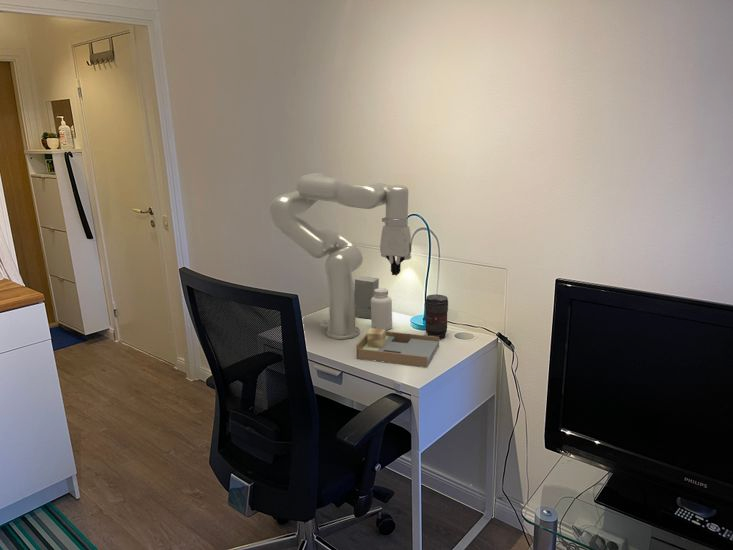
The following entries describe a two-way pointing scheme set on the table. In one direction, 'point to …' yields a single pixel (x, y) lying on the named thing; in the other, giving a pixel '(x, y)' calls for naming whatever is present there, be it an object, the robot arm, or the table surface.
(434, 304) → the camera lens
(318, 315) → the table surface
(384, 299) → the pill bottle
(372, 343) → the block
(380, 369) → the table surface
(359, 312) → the skincare box
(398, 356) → the box
